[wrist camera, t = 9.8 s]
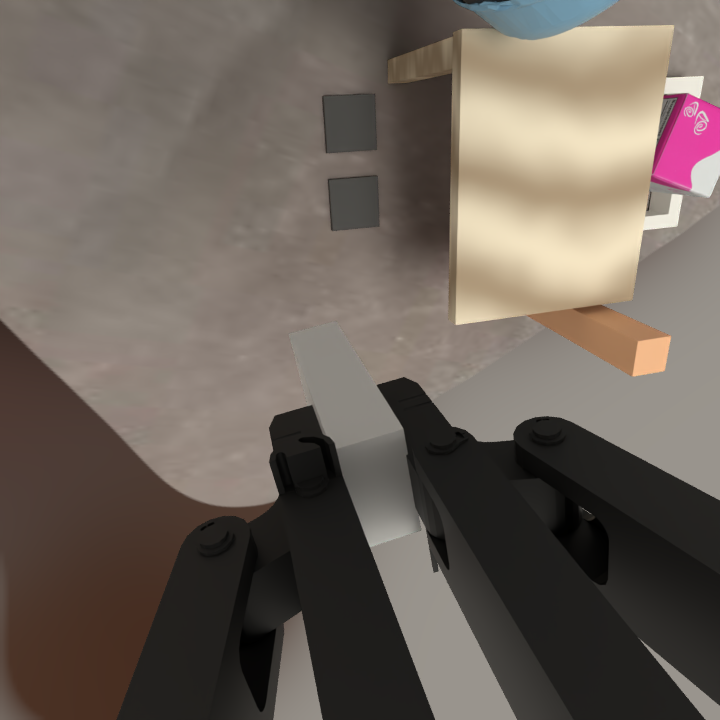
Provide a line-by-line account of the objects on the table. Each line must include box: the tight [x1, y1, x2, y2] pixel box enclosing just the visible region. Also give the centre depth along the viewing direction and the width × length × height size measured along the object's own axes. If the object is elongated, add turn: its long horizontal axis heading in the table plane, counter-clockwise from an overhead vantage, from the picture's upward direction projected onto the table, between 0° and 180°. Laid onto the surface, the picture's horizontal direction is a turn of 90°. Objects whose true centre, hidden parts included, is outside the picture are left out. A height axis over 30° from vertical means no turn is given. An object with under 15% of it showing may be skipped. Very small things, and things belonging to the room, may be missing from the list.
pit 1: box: [323, 94, 377, 153], centre depth 43 cm, size 4×4×1 cm
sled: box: [527, 76, 704, 376], centre depth 42 cm, size 18×17×19 cm
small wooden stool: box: [388, 25, 674, 325], centre depth 41 cm, size 17×14×14 cm
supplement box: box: [649, 93, 720, 198], centre depth 44 cm, size 6×6×12 cm
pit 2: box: [328, 176, 379, 231], centre depth 45 cm, size 4×4×1 cm
